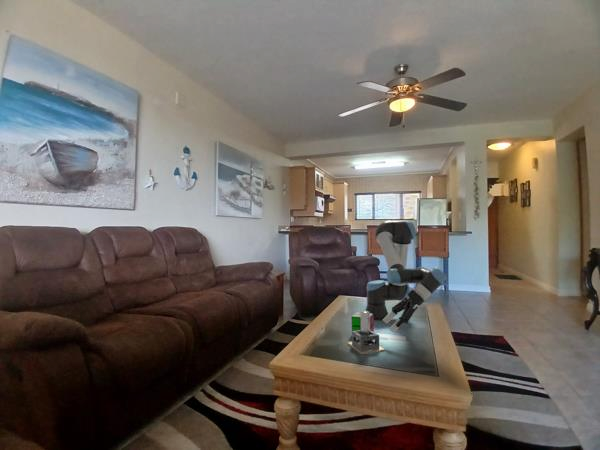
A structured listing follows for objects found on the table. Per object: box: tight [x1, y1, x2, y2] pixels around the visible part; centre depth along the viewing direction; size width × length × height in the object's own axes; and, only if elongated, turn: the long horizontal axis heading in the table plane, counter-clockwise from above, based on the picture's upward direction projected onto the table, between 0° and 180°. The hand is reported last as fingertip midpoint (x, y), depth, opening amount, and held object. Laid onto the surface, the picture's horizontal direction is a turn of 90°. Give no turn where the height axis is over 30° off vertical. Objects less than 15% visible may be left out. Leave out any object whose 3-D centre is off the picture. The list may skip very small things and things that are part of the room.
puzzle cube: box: [351, 311, 375, 332], centre depth 166 cm, size 10×10×10 cm
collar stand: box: [347, 330, 385, 355], centre depth 145 cm, size 14×12×7 cm
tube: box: [360, 310, 370, 344], centre depth 145 cm, size 4×4×16 cm
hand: (387, 326), depth 145 cm, fingers open, 13 cm apart
